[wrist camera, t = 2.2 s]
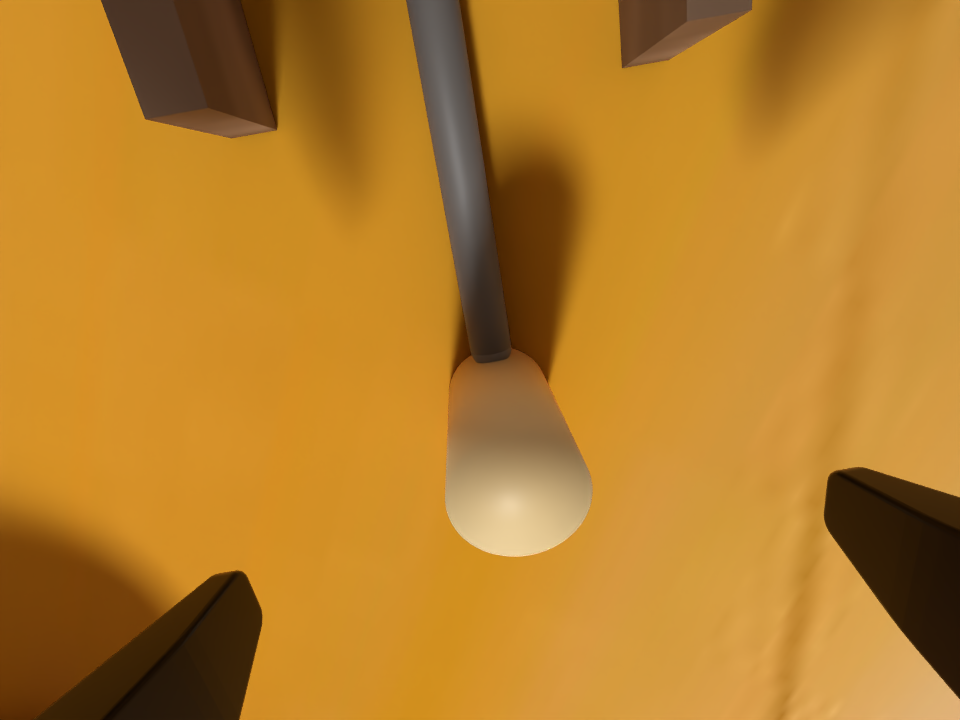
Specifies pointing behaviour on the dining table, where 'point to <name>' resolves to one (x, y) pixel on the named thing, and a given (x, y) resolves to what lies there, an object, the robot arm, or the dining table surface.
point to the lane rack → (236, 74)
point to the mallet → (490, 338)
